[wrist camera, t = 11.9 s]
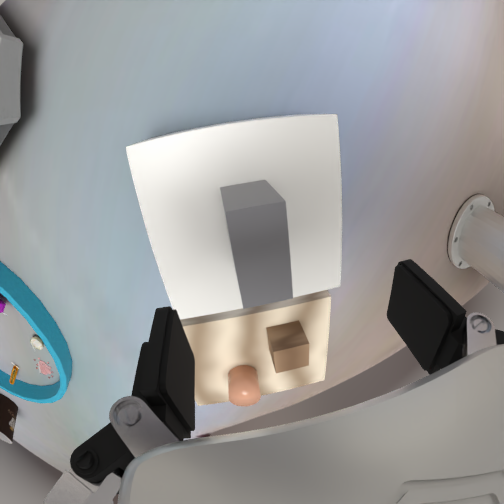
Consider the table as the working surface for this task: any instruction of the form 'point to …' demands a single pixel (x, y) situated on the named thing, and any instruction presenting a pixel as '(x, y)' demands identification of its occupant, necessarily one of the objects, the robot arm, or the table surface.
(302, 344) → the walnut block
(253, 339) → the birch board
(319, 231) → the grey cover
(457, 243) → the robot arm
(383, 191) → the table surface
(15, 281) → the blue ring
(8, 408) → the coffee mug
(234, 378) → the terracotta cylinder
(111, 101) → the table surface
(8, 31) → the first aid kit
